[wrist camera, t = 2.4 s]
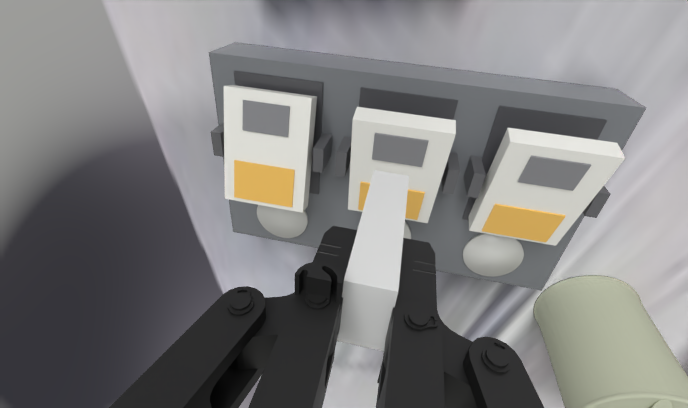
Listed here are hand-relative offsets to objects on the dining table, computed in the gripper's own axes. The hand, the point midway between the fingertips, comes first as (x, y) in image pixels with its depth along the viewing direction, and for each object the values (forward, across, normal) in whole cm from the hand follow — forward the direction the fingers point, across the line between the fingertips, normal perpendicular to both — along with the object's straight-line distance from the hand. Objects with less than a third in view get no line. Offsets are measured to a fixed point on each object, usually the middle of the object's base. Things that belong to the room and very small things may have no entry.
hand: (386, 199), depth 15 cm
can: (+15, +21, -18) cm, 32 cm away
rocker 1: (+8, -9, -3) cm, 12 cm away
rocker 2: (+8, +9, -3) cm, 13 cm away
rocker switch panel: (+15, 0, -5) cm, 16 cm away
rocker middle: (+8, 0, -3) cm, 9 cm away
